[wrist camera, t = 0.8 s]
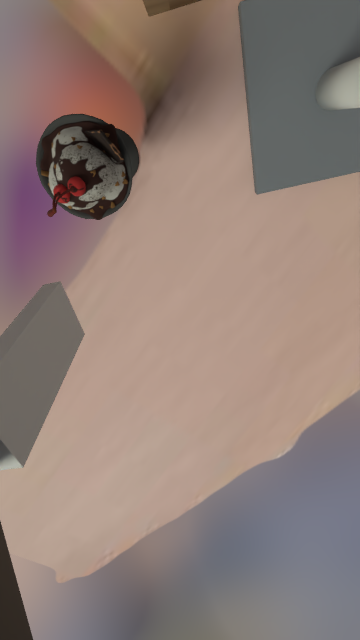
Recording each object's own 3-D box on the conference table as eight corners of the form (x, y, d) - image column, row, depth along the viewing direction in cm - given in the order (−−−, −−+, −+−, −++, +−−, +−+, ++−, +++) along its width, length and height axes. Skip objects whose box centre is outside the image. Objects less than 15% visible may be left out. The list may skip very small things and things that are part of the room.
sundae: (87, 196, 33) (24, 244, 20) (71, 119, 29) (-19, 117, 16) (151, 192, 32) (128, 237, 20) (142, 113, 29) (107, 106, 16)
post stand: (238, 6, 25) (261, -47, 17) (430, -52, 23) (555, -141, 15) (255, 192, 32) (276, 214, 24) (403, 158, 30) (478, 171, 22)
